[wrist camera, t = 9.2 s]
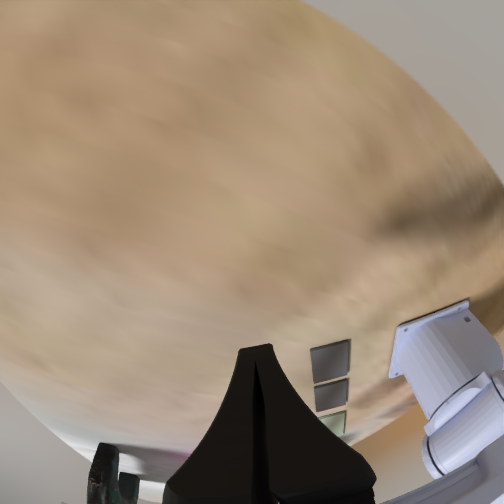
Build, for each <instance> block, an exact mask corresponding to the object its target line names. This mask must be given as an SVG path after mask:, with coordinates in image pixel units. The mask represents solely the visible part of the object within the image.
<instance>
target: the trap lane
mask: <svg viewBox="0 0 504 504" xmlns="http://www.w3.org/2000/svg"><path fill="white" fill-rule="evenodd" d="M310 352H311V362H312V371H313V382H314V384H315V383H319V382H323V381H327V380H331V379H334V378H338V377H342V376H345V375H347V371H348V340H344V341H340V342H336V343H333V344H329V345H325V346H321V347H317V348H313V349H310ZM346 391H347V379H343V380H339V381H335V382H332V383H328V384H324V385H320V386H316V387H314V393H315V404H316V412H320V411H324V410H328V409H331V408H335V407H339V406H342V405H346ZM344 418H345V411H342V412H338V413H335V414H331V415H327V416H323V417H319V418H318V419H319V420H320V421H321V422H322V423H323V424H324V425H326V426H327V427H328V428H329V429H330V430H331V431H332V432H333V433H334V434H335V435H336V436H337V437H339V436H343V429H344Z"/></svg>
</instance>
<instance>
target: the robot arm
mask: <svg viewBox="0 0 504 504" xmlns="http://www.w3.org/2000/svg"><path fill="white" fill-rule="evenodd" d="M468 307H469V302H468V301H467V300H465V301H463V302H460V303H458V304H456V305H453V306H451V307H448V308H446V309H443V310H441V311H438V312H436V313H433V314H430V315H428V316H425V317H422V318H420V319H417V320H414V321H411V322H408V323H405V324H403V325H400V326H399V327H398V328H397V330H396V335H395V341H394V347H393V353H392V359H391V364H390V369H389V374H388V376H389V378H394V377H397V376H399V375H402V374H404V376H405V378H406V380H407V381H408V383H409V385H410V387H411V389H412V391H413V393H414V394H415V396H416V398H417V400H418V402H419V404H420V406H421V408H422V410H423V412H424V414H425V416H426V417H427V420H428V423H427V424H426V425H425V426H424V429H425V431H426V433H427V435H426V436H425V437H424V438H423V441H422V450H421V453H422V459H423V462H424V464H425V467H426V469H427V470H428V472H429V473H430V474H431V476H432V477H433V478H435V479H436V480H434V481H432V482H430V483H428V484H426V485H424V486H422V487H420V488H417V489H415V490H413V491H411V492H408V493H406V494H404V495H401V496H399V497H396V498H394V499H392V500H389V501H386V502H383V503H380V504H504V370H502V368H503V356H502V352H501V349H500V346H499V345H498V342H497V341H496V339H495V338H494V337H493V336H492V335H491V334H490V332H489V331H488V330H487V329H486V328H485V327H484V326H483V325H482V323H481V322H480V321H479V320H478V319H477V318H476V317H475V316H474V315H473V314H472V313H471V311H470V310H469V309H468ZM376 479H377V478H376V475H375V473H374V471H373V470H372V468H371V466H370V465H369V464H368V463H367V461H366V460H365V459H364V458H363V456H362V455H361V454H359V453H358V452H357V451H355V450H354V449H352V448H351V447H350V446H349V445H347V444H346V443H345V442H343V441H342V440H341V439H340V438H339V437H337V436H336V435H335V434H334V433H333V432H332V431H331V430H330V429H329V428H328V427H327V426H326V425H324V424H323V423H322V422H321V421H320V420H319V419H318V418H317V416H316V415H315V414H314V413H313V412H312V411H311V410H310V409H309V407H308V406H307V405H306V404H305V403H304V401H303V400H302V399H301V398H300V396H299V395H298V393H297V392H296V391H295V389H294V388H293V386H292V385H291V383H290V382H289V380H288V379H287V377H286V375H285V374H284V372H283V370H282V368H281V366H280V364H279V362H278V360H277V358H276V356H275V353H274V350H273V345H272V344H270V343H268V344H263V345H258V346H253V347H247V348H242V349H240V350H239V351H238V356H237V361H236V365H235V369H234V372H233V375H232V378H231V381H230V384H229V387H228V390H227V392H226V395H225V397H224V400H223V402H222V404H221V407H220V409H219V411H218V413H217V415H216V417H215V419H214V421H213V422H212V424H211V426H210V428H209V429H208V431H207V433H206V434H205V436H204V437H203V439H202V440H201V442H200V443H199V445H198V446H197V448H196V449H195V450H194V451H193V453H192V454H191V455H190V457H189V458H188V459H187V460H186V462H185V463H184V464H183V465H182V466H181V467H180V468H179V469H178V470H177V471H176V472H175V474H174V475H173V476H172V477H171V478H170V479H169V480H168V481H167V482H166V485H165V489H164V493H163V501H162V504H278V502H279V504H375V500H374V491H373V488H372V487H373V485H374V483H375V482H376ZM61 504H66V503H63V502H62V503H61Z"/></svg>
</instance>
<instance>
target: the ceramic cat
mask: <svg viewBox="0 0 504 504" xmlns="http://www.w3.org/2000/svg"><path fill="white" fill-rule="evenodd" d="M118 466H119V450H118V449H117V448H116V447H115V446H111V445H107V444H103V443H99V445H98V448H97V451H96V454H95V456H94V459H93V463H92V465H91V469H90V472H89V477H88V487H87V504H137V500H138V494H139V483H140V480H139V478H138V477H137V476H136V475H132V474H128V473H123V472H120V474H119V479H118Z"/></svg>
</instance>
